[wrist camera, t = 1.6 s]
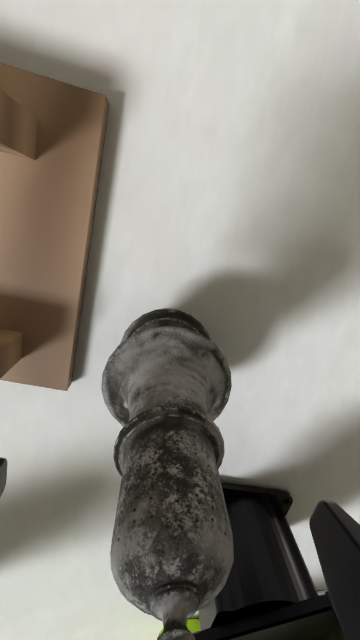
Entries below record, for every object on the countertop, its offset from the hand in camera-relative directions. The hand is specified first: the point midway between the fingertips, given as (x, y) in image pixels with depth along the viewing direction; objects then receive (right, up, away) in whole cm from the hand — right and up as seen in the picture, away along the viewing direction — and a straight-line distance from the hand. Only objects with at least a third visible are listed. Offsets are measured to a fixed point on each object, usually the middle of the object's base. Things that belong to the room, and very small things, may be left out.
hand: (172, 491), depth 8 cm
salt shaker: (-1, +3, +8) cm, 9 cm away
